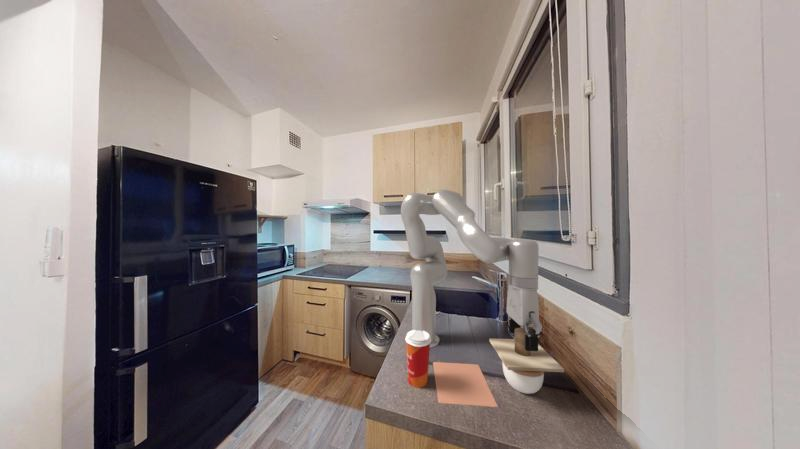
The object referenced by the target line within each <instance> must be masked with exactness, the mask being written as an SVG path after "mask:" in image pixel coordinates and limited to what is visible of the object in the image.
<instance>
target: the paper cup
mask: <svg viewBox="0 0 800 449" xmlns="http://www.w3.org/2000/svg"><path fill="white" fill-rule="evenodd" d="M404 339H405V342H406V364H407V366H406V369H407V381H408V384H409V385H410V386H412V387H413V388H424V387H425V386H427V383H428V376H429V363H430V361H429V360H430V343H431V338H430V335H429V334H428V333H427V332H426V331H421V330H418V331H417V330H412V329H411V330H410V331H408V332H407V333H406V336H405V338H404Z"/></svg>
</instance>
